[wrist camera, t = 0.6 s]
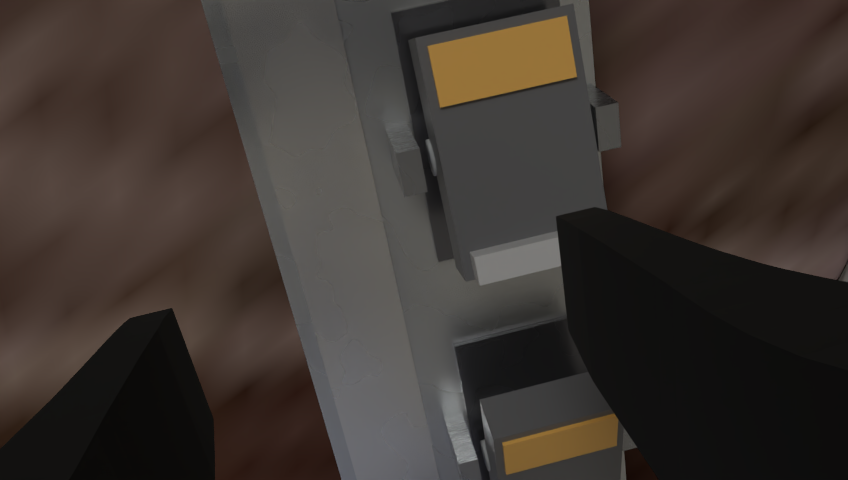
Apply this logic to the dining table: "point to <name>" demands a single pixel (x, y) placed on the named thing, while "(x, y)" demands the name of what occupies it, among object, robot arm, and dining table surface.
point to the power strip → (385, 229)
